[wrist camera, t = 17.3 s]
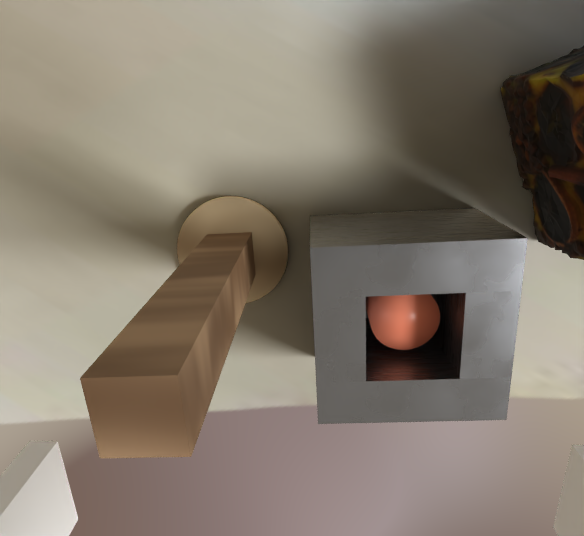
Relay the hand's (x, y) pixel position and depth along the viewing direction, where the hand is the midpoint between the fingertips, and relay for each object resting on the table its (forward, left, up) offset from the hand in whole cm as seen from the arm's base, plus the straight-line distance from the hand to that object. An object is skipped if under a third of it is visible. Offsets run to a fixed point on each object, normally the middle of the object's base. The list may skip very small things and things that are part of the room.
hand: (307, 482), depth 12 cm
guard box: (+2, +5, -18) cm, 19 cm away
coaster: (-1, -5, -18) cm, 19 cm away
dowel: (-1, -5, -17) cm, 18 cm away
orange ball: (+2, +5, -17) cm, 18 cm away
